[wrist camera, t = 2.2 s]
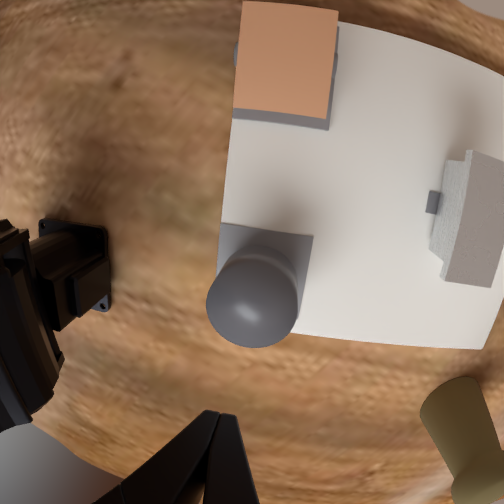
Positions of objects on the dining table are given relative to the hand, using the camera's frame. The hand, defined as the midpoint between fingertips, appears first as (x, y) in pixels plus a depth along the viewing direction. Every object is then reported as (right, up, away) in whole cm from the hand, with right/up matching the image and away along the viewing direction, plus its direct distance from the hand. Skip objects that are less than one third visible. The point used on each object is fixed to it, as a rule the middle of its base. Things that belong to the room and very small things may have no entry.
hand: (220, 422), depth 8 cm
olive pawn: (+18, -9, +14) cm, 25 cm away
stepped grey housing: (+12, +7, +8) cm, 16 cm away
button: (+1, +3, +9) cm, 10 cm away
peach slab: (+2, +13, +5) cm, 14 cm away
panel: (+9, +8, +10) cm, 16 cm away
